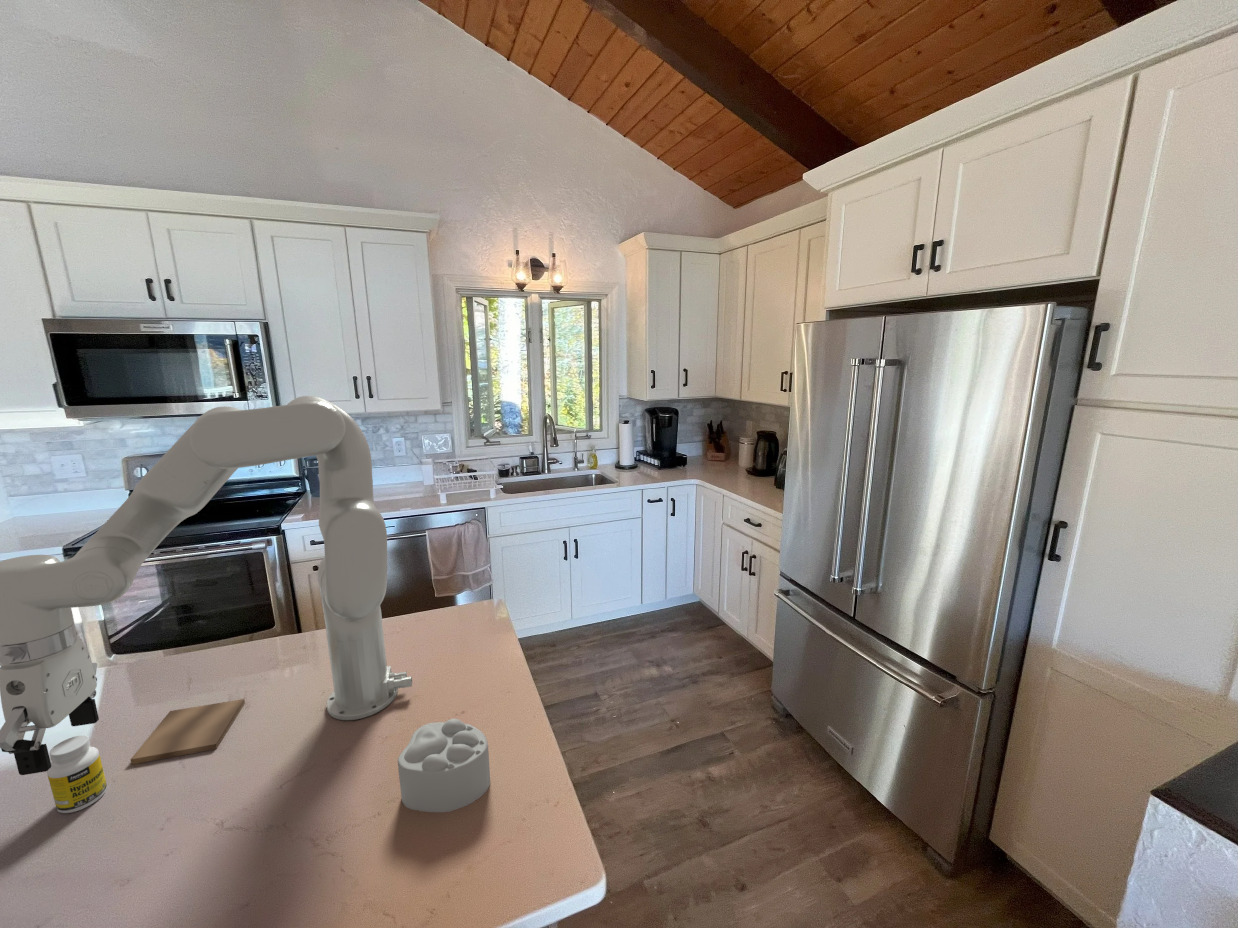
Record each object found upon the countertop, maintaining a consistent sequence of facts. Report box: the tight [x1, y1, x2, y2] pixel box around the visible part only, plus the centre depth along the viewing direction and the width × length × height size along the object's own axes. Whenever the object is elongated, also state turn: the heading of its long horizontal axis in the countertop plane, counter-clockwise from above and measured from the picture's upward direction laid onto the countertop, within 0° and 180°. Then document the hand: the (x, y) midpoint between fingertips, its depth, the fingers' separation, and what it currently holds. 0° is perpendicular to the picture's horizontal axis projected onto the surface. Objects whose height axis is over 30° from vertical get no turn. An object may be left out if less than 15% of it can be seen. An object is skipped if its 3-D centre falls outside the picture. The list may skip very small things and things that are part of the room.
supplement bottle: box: [46, 735, 108, 814], centre depth 76 cm, size 5×5×10 cm
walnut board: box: [129, 698, 246, 765], centre depth 91 cm, size 12×12×1 cm
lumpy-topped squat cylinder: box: [397, 718, 491, 813], centre depth 79 cm, size 10×13×9 cm
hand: (62, 746), depth 75 cm, fingers open, 9 cm apart
